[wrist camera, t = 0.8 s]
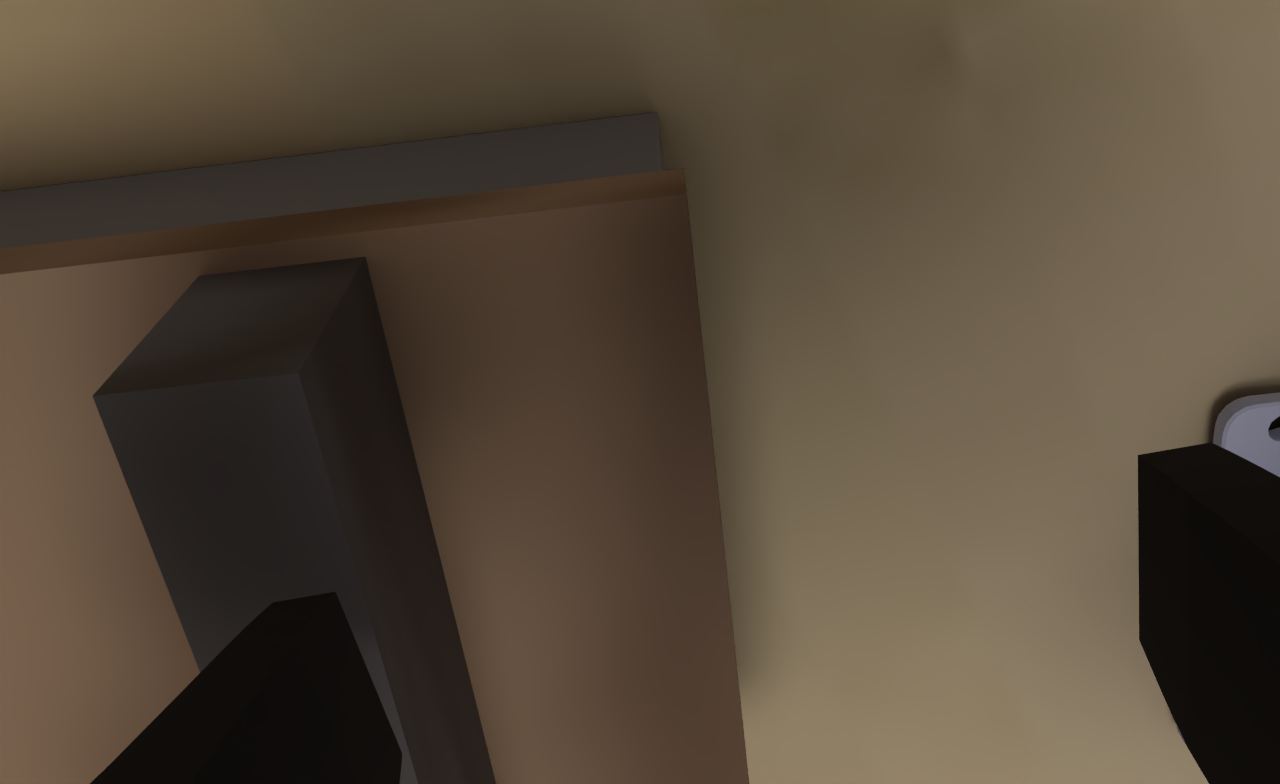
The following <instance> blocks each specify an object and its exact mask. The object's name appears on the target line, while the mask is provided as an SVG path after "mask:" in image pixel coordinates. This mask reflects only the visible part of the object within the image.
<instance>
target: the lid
mask: <svg viewBox="0 0 1280 784" xmlns="http://www.w3.org/2000/svg"><path fill="white" fill-rule="evenodd" d="M331 592H336V594H337V596H338V599H339V601H340V604H341V606H342V608H343V611H344V613H345V616H346V618H347V621H348V623H349V625H350V628H351V630H352V633H353V635H354V638H355V640H356V642H357V645H358V647H359V650H360V652H361V655H362V657H363V659H364V662H365V664H366V667H367V669H368V672H369V674H370V676H371V679H372V681H373V684H374V686H375V689H376V691H377V693H378V696H379V698H380V701H381V703H382V706H383V708H384V710H385V713H386V715H387V718H388V720H389V722H390V725H391V727H392V730H393V732H394V735H395V737H396V739H397V742H398V744H399V747H400V749H401V752H402V764H401V774H400V784H749V777H748V768H747V758H746V749H745V740H744V730H743V721H742V711H741V702H740V693H739V683H738V674H737V664H736V655H735V646H734V636H733V627H732V617H731V608H730V598H729V589H728V580H727V570H726V561H725V551H724V542H723V533H722V523H721V514H720V504H719V495H718V486H717V476H716V467H715V457H714V448H713V439H712V429H711V420H710V410H709V401H708V391H707V382H706V373H705V363H704V354H703V344H702V335H701V326H700V316H699V307H698V297H697V288H696V279H695V269H694V260H693V250H692V241H691V231H690V222H689V213H688V203H687V194H686V185H685V177H684V168H679V169H671V170H663V171H654V172H646V173H637V174H629V175H620V176H612V177H604V178H595V179H587V180H578V181H570V182H561V183H553V184H544V185H536V186H528V187H519V188H511V189H502V190H494V191H485V192H477V193H469V194H460V195H452V196H443V197H435V198H426V199H418V200H409V201H401V202H393V203H384V204H376V205H367V206H359V207H350V208H342V209H334V210H325V211H317V212H308V213H300V214H291V215H283V216H274V217H266V218H258V219H249V220H241V221H232V222H224V223H215V224H207V225H198V226H190V227H182V228H173V229H165V230H156V231H148V232H139V233H131V234H123V235H114V236H106V237H97V238H89V239H80V240H72V241H63V242H55V243H47V244H38V245H30V246H21V247H13V248H4V249H0V784H90V783H91V782H92V781H93V780H94V779H95V778H96V777H97V776H98V775H99V774H100V773H101V772H102V771H104V770H105V769H106V768H107V767H108V766H109V765H110V764H111V763H112V762H113V761H114V760H115V759H116V758H117V757H118V756H119V755H120V754H121V753H122V752H123V751H124V750H125V749H126V748H127V747H128V746H129V744H130V743H131V742H132V741H133V740H134V739H135V738H136V737H137V736H138V735H139V734H140V733H141V732H142V731H143V730H144V729H145V728H146V727H147V726H148V725H149V724H150V723H151V722H152V721H153V720H154V719H155V718H156V717H157V716H158V715H159V714H160V713H161V712H162V711H163V710H164V709H165V708H166V707H167V706H168V705H169V704H170V703H171V702H172V701H173V700H174V699H175V698H176V697H177V696H178V695H179V694H180V693H181V692H182V691H183V690H184V689H185V688H186V687H187V686H188V685H189V684H190V683H191V682H192V681H193V680H194V679H195V677H196V676H197V675H198V674H199V673H200V672H201V671H202V670H203V669H204V668H205V667H206V666H207V665H208V664H209V663H210V662H211V661H212V660H213V659H214V658H215V657H216V656H217V655H218V654H219V653H220V652H221V651H222V650H223V649H224V648H225V647H226V646H227V645H228V644H229V643H230V642H231V641H232V640H233V639H234V638H235V637H236V636H237V635H238V634H239V633H240V632H241V631H242V630H243V629H244V628H245V627H246V626H247V625H248V624H249V623H250V622H251V621H253V620H254V619H255V618H256V617H257V616H258V615H259V614H260V613H261V612H263V611H264V610H265V609H266V608H267V607H268V606H269V605H270V604H272V603H273V602H278V601H284V600H289V599H295V598H301V597H307V596H313V595H319V594H325V593H331Z"/></svg>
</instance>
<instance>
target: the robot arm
mask: <svg viewBox="0 0 1280 784" xmlns="http://www.w3.org/2000/svg"><path fill="white" fill-rule="evenodd" d="M1277 417H1280V393H1270V394H1261V395H1251V396H1246V397H1242V398H1238V399H1236V400H1234V401H1233V402H1231V403H1229V404H1228V405H1226V406H1225V407H1224V409H1223V410H1222V411H1221V412H1220V413H1219V415H1218V418H1217V420H1216V423H1215V430H1214V437H1213V443H1207V444H1201V445H1195V446H1189V447H1183V448H1177V449H1171V450H1165V451H1160V452H1154V453H1148V454H1142V455H1138V510H1139V640H1140V642H1141V645H1142V647H1143V649H1144V652H1145V654H1146V656H1147V659H1148V661H1149V663H1150V666H1151V668H1152V670H1153V673H1154V675H1155V677H1156V680H1157V682H1158V684H1159V687H1160V689H1161V691H1162V694H1163V696H1164V698H1165V700H1166V702H1167V705H1168V707H1169V709H1170V711H1171V713H1172V715H1173V718H1174V720H1175V722H1176V724H1177V731H1178V733H1179V734H1180V736H1181V738H1182V740H1183V741H1184V743H1185V744H1186V745H1187V747H1188V749H1189V750H1190V752H1191V754H1192V755H1193V757H1194V759H1195V761H1196V762H1197V764H1198V766H1199V767H1200V769H1201V771H1202V772H1203V774H1204V776H1205V777H1206V779H1207V781H1208V782H1209V784H1280V427H1279V428H1276V429H1272V430H1268V429H1269V426H1270V424H1271V422H1273V421H1274V420H1275V419H1276V418H1277ZM401 764H402V752H401V749H400V747H399V744H398V742H397V739H396V737H395V735H394V732H393V730H392V727H391V725H390V722H389V720H388V718H387V715H386V713H385V710H384V708H383V706H382V703H381V701H380V698H379V696H378V693H377V691H376V689H375V686H374V684H373V681H372V679H371V676H370V674H369V672H368V669H367V667H366V664H365V662H364V659H363V657H362V655H361V652H360V650H359V647H358V645H357V642H356V640H355V638H354V635H353V633H352V630H351V628H350V625H349V623H348V621H347V618H346V616H345V613H344V611H343V608H342V606H341V604H340V601H339V599H338V596H337V594H336V592H331V593H325V594H319V595H313V596H307V597H301V598H295V599H289V600H284V601H278V602H273V603H272V604H270V605H269V606H268V607H267V608H266V609H265V610H264V611H263V612H261V613H260V614H259V615H258V616H257V617H256V618H255V619H254V620H253V621H251V622H250V623H249V624H248V625H247V626H246V627H245V628H244V629H243V630H242V631H241V632H240V633H239V634H238V635H237V636H236V637H235V638H234V639H233V640H232V641H231V642H230V643H229V644H228V645H227V646H226V647H225V648H224V649H223V650H222V651H221V652H220V653H219V654H218V655H217V656H216V657H215V658H214V659H213V660H212V661H211V662H210V663H209V664H208V665H207V666H206V667H205V668H204V669H203V670H202V671H201V672H200V673H199V674H198V675H197V676H196V677H195V679H194V680H193V681H192V682H191V683H190V684H189V685H188V686H187V687H186V688H185V689H184V690H183V691H182V692H181V693H180V694H179V695H178V696H177V697H176V698H175V699H174V700H173V701H172V702H171V703H170V704H169V705H168V706H167V707H166V708H165V709H164V710H163V711H162V712H161V713H160V714H159V715H158V716H157V717H156V718H155V719H154V720H153V721H152V722H151V723H150V724H149V725H148V726H147V727H146V728H145V729H144V730H143V731H142V732H141V733H140V734H139V735H138V736H137V737H136V738H135V739H134V740H133V741H132V742H131V743H130V744H129V746H128V747H127V748H126V749H125V750H124V751H123V752H122V753H121V754H120V755H119V756H118V757H117V758H116V759H115V760H114V761H113V762H112V763H111V764H110V765H109V766H108V767H107V768H106V769H105V770H104V771H102V772H101V773H100V774H99V775H98V776H97V777H96V778H95V779H94V780H93V781H92V782H91V783H90V784H400V774H401Z"/></svg>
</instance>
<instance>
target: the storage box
mask: <svg viewBox="0 0 1280 784" xmlns="http://www.w3.org/2000/svg"><path fill="white" fill-rule="evenodd" d="M663 170H664V169H663V161H662V152H661V143H660V134H659V126H658V117H657V112H653V113H645V114H636V115H628V116H620V117H612V118H604V119H595V120H587V121H579V122H571V123H562V124H554V125H546V126H538V127H529V128H521V129H513V130H505V131H496V132H488V133H480V134H472V135H463V136H455V137H447V138H439V139H430V140H422V141H414V142H406V143H397V144H389V145H381V146H373V147H365V148H356V149H348V150H340V151H332V152H323V153H315V154H307V155H299V156H290V157H282V158H274V159H266V160H257V161H249V162H241V163H233V164H224V165H216V166H208V167H200V168H191V169H183V170H175V171H167V172H158V173H150V174H142V175H134V176H126V177H117V178H109V179H101V180H93V181H84V182H76V183H68V184H60V185H51V186H43V187H35V188H27V189H18V190H10V191H2V192H0V249H4V248H13V247H21V246H30V245H38V244H47V243H55V242H63V241H72V240H80V239H89V238H97V237H106V236H114V235H123V234H131V233H139V232H148V231H156V230H165V229H173V228H182V227H190V226H198V225H207V224H215V223H224V222H232V221H241V220H249V219H258V218H266V217H274V216H283V215H291V214H300V213H308V212H317V211H325V210H334V209H342V208H350V207H359V206H367V205H376V204H384V203H393V202H401V201H409V200H418V199H426V198H435V197H443V196H452V195H460V194H469V193H477V192H485V191H494V190H502V189H511V188H519V187H528V186H536V185H544V184H553V183H561V182H570V181H578V180H587V179H595V178H604V177H612V176H620V175H629V174H637V173H646V172H654V171H663Z"/></svg>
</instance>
